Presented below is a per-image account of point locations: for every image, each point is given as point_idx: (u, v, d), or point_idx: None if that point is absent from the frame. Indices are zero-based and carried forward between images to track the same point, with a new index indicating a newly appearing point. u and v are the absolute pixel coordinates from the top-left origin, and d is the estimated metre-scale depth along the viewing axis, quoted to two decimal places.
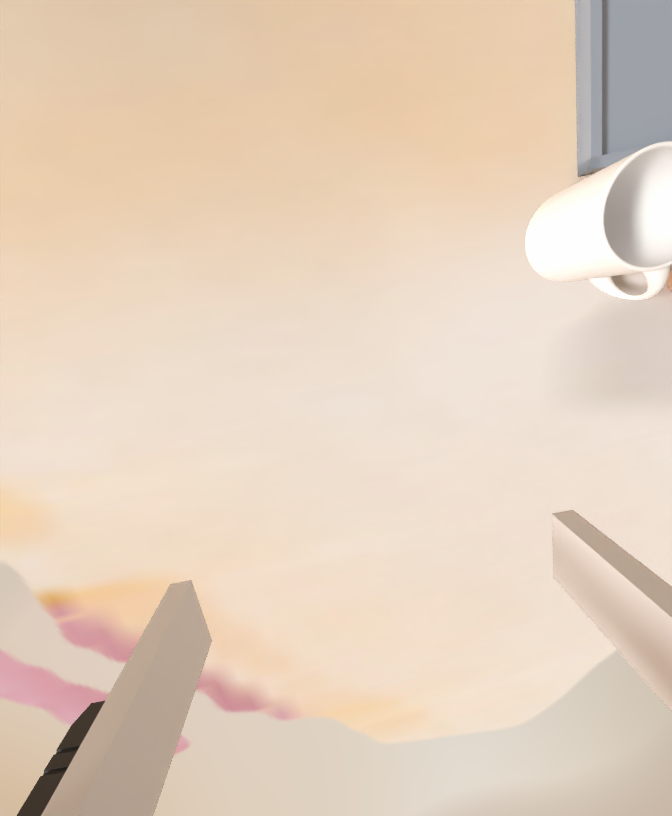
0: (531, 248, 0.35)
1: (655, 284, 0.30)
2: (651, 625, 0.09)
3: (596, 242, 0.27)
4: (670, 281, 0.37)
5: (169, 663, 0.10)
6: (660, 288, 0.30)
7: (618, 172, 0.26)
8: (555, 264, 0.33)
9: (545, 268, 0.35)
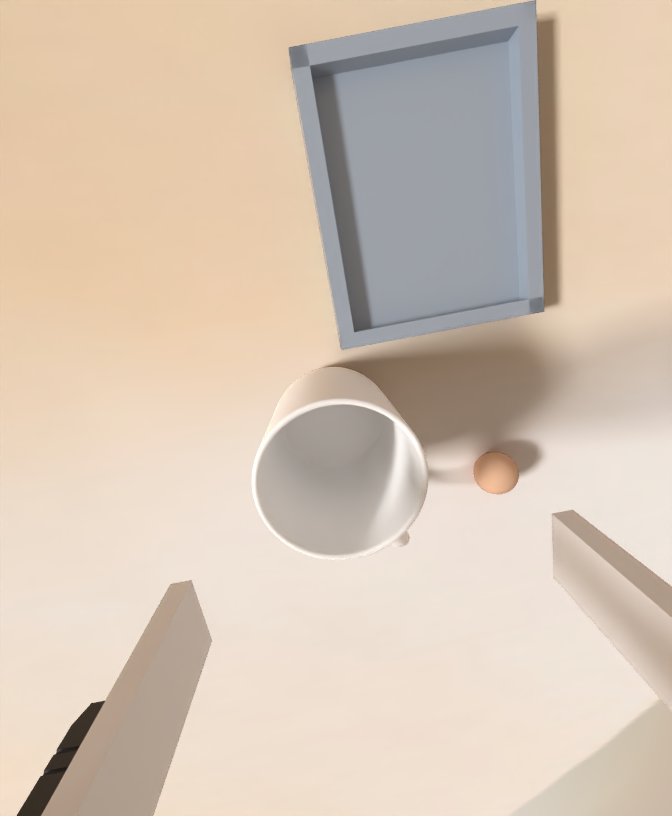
0: None
1: None
2: (651, 625, 0.09)
3: None
4: (474, 476, 0.28)
5: (169, 663, 0.10)
6: (401, 546, 0.21)
7: (266, 441, 0.17)
8: None
9: None
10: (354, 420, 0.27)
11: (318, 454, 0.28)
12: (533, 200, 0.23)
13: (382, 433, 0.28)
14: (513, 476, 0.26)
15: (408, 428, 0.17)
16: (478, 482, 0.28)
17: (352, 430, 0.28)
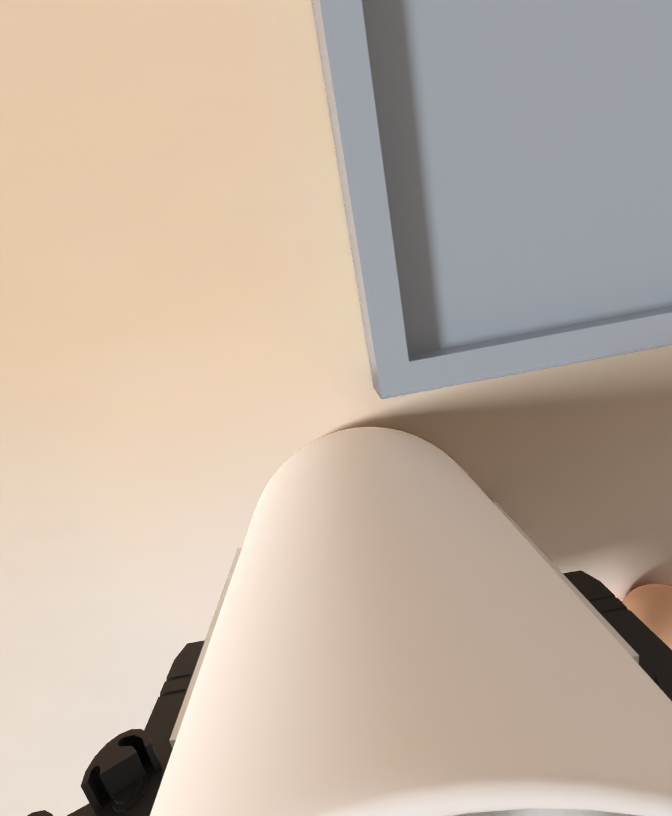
0: None
1: None
2: None
3: None
4: None
5: None
6: None
7: None
8: None
9: None
10: None
11: None
12: None
13: None
14: None
15: None
16: None
17: None
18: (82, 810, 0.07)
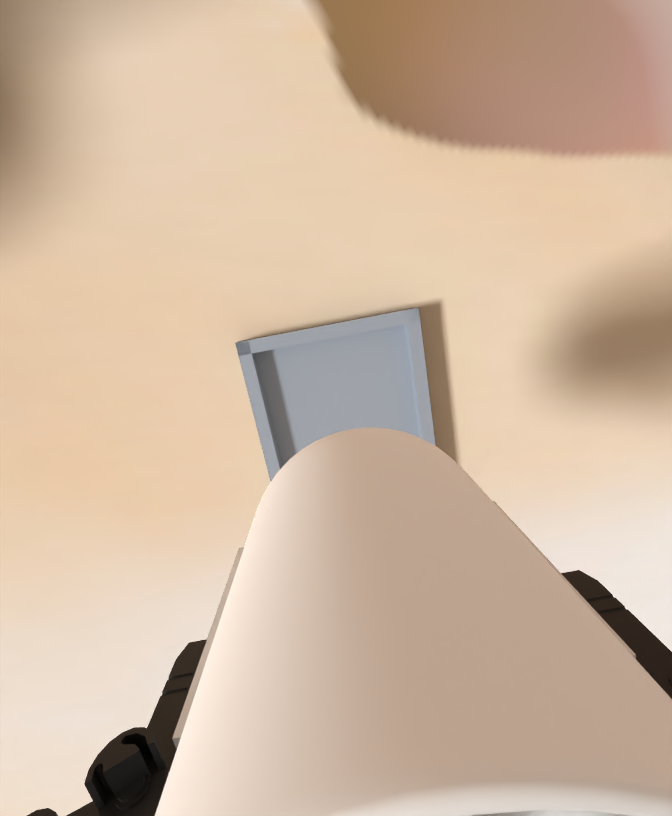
0: None
1: None
2: None
3: None
4: None
5: None
6: None
7: None
8: None
9: None
10: None
11: None
12: (428, 434, 0.29)
13: None
14: None
15: None
16: None
17: None
18: (85, 808, 0.07)
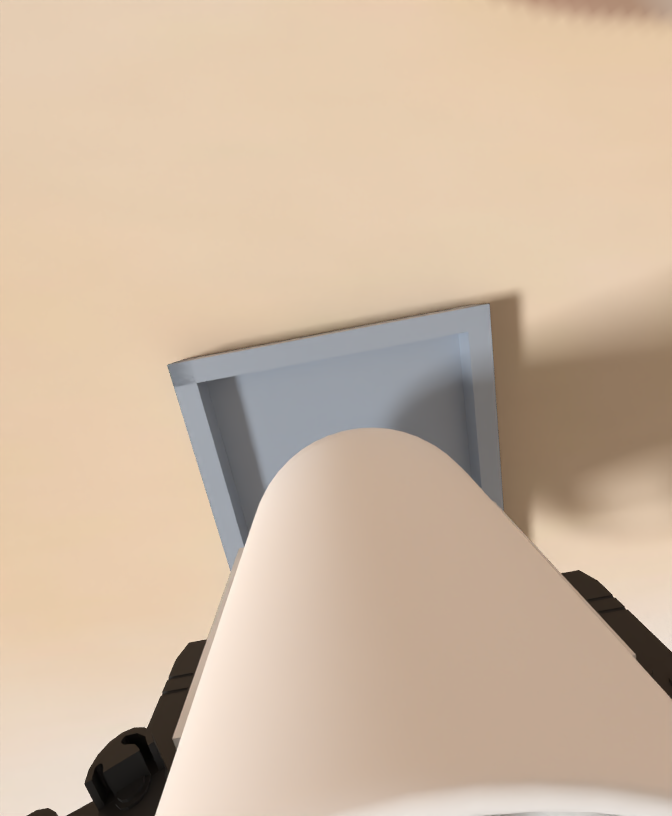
0: None
1: None
2: None
3: None
4: None
5: None
6: None
7: None
8: None
9: None
10: None
11: None
12: None
13: None
14: None
15: None
16: None
17: None
18: (85, 808, 0.07)
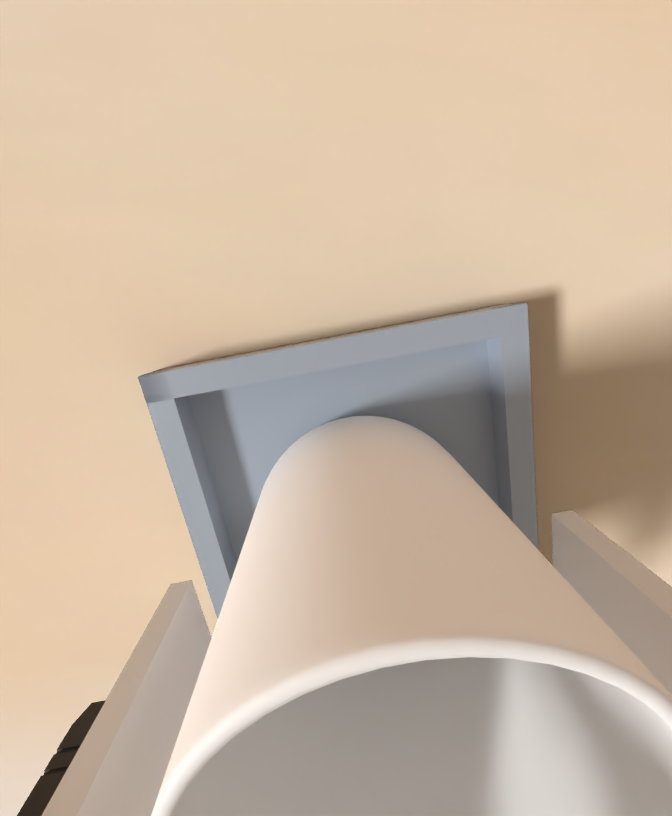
0: None
1: None
2: (650, 625, 0.09)
3: None
4: None
5: (169, 663, 0.10)
6: None
7: (181, 778, 0.05)
8: None
9: None
10: None
11: None
12: None
13: None
14: None
15: None
16: None
17: None
18: None
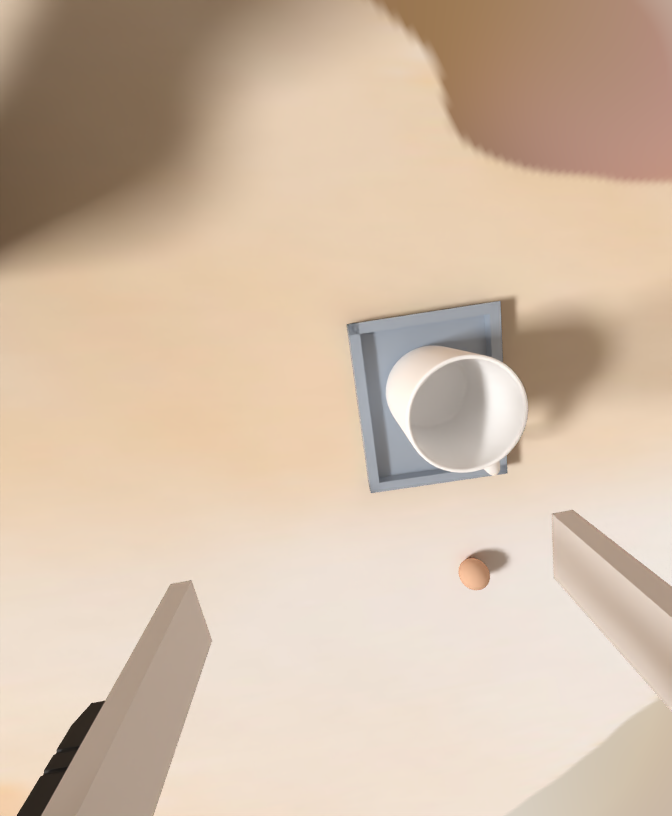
0: (387, 403, 0.34)
1: (487, 471, 0.29)
2: (651, 625, 0.09)
3: (410, 441, 0.26)
4: (459, 575, 0.40)
5: (169, 663, 0.10)
6: (494, 473, 0.29)
7: (420, 382, 0.25)
8: None
9: None
10: (445, 388, 0.35)
11: (414, 415, 0.36)
12: None
13: (466, 399, 0.35)
14: (485, 579, 0.38)
15: (517, 377, 0.25)
16: (461, 580, 0.39)
17: (442, 397, 0.35)
18: None
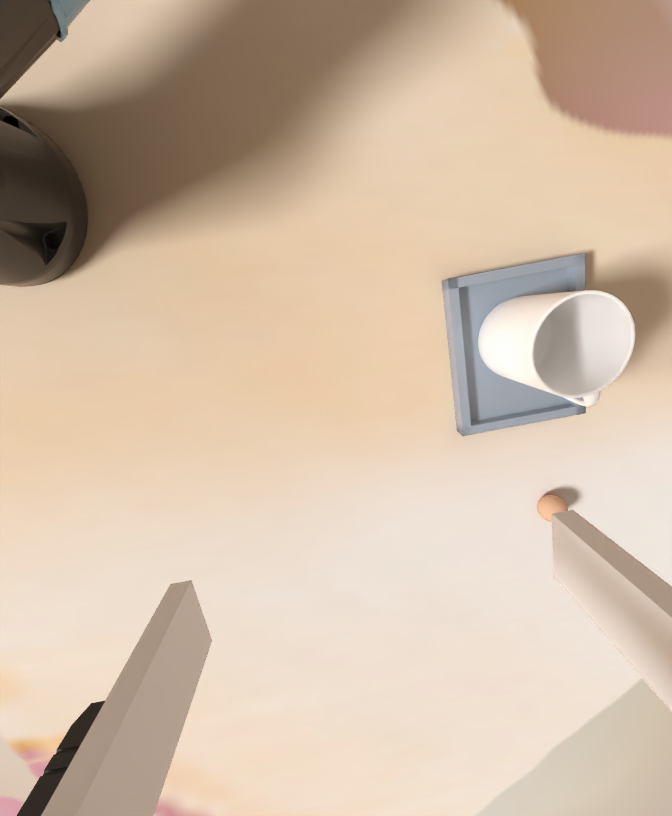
0: (482, 351, 0.38)
1: (588, 400, 0.32)
2: (651, 625, 0.09)
3: (529, 372, 0.30)
4: (538, 510, 0.44)
5: (169, 663, 0.10)
6: (594, 403, 0.33)
7: (544, 317, 0.28)
8: (502, 371, 0.36)
9: (495, 370, 0.38)
10: None
11: None
12: None
13: (549, 346, 0.39)
14: None
15: (627, 309, 0.28)
16: (541, 514, 0.43)
17: None
18: None
